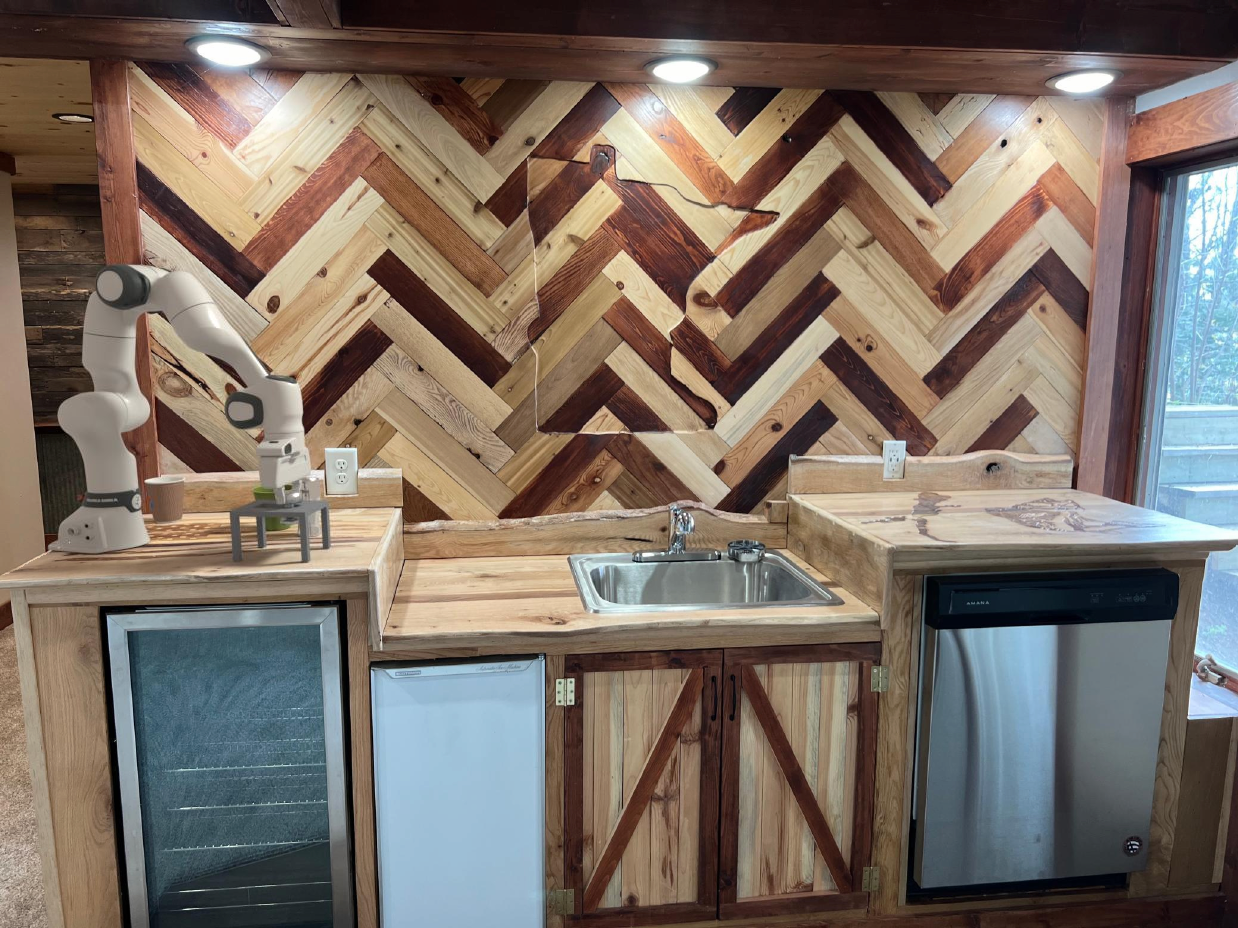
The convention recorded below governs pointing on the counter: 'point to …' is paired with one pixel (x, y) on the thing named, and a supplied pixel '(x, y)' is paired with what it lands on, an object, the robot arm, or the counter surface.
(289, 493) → the steel peg
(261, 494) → the plant pot
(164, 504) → the coffee cup
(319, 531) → the beer glass
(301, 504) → the keyhole stand
